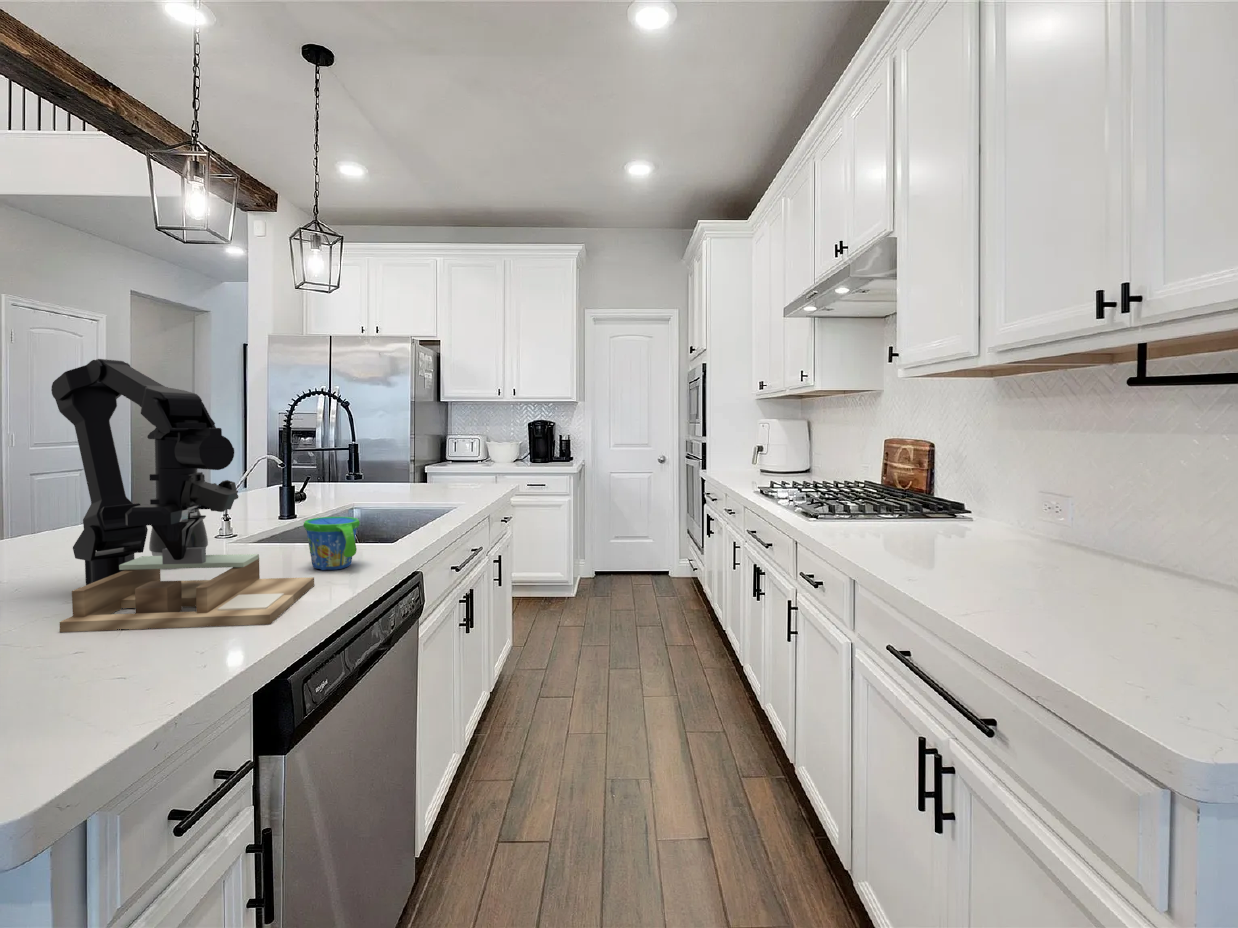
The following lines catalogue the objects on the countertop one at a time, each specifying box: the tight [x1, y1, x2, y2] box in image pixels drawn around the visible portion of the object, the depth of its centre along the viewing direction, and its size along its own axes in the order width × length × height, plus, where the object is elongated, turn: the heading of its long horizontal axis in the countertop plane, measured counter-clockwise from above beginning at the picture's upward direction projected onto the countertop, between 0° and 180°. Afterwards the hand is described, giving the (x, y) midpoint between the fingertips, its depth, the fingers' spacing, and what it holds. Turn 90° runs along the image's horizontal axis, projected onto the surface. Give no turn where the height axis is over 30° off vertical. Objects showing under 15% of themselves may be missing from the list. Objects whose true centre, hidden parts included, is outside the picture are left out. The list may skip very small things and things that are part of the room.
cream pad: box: [218, 593, 284, 611], centre depth 100 cm, size 7×8×1 cm
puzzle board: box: [59, 558, 315, 633], centre depth 103 cm, size 28×23×6 cm
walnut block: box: [135, 580, 183, 614], centre depth 98 cm, size 4×4×5 cm
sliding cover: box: [119, 547, 260, 570], centre depth 108 cm, size 19×7×3 cm, turn 101°
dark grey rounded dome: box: [148, 509, 209, 556], centre depth 131 cm, size 10×10×15 cm
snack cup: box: [303, 516, 360, 571], centre depth 131 cm, size 16×10×10 cm
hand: (178, 559), depth 104 cm, fingers closed
